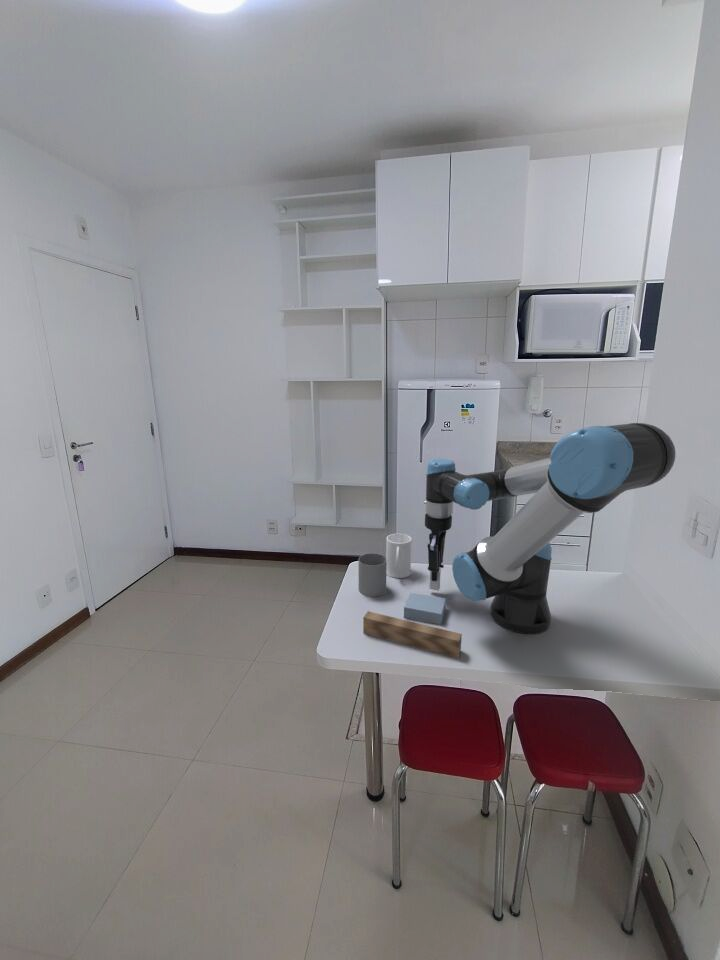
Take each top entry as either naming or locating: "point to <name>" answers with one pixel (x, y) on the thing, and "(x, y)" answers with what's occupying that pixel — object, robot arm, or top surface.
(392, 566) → the mug
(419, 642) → the brown wooden bar
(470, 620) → the top surface
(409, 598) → the block
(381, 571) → the cup
